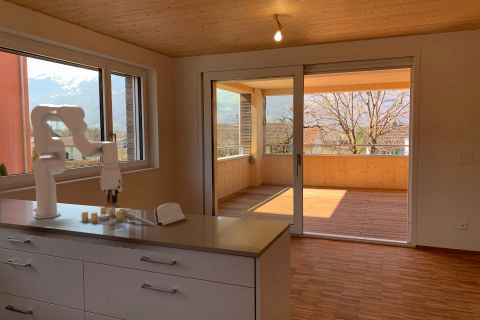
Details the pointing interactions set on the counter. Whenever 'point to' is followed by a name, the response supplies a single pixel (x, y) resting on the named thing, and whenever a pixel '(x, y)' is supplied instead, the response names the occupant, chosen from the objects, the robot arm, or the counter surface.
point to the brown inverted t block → (110, 204)
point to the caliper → (135, 218)
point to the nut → (103, 217)
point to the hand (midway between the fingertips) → (112, 202)
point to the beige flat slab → (168, 213)
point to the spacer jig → (114, 216)
